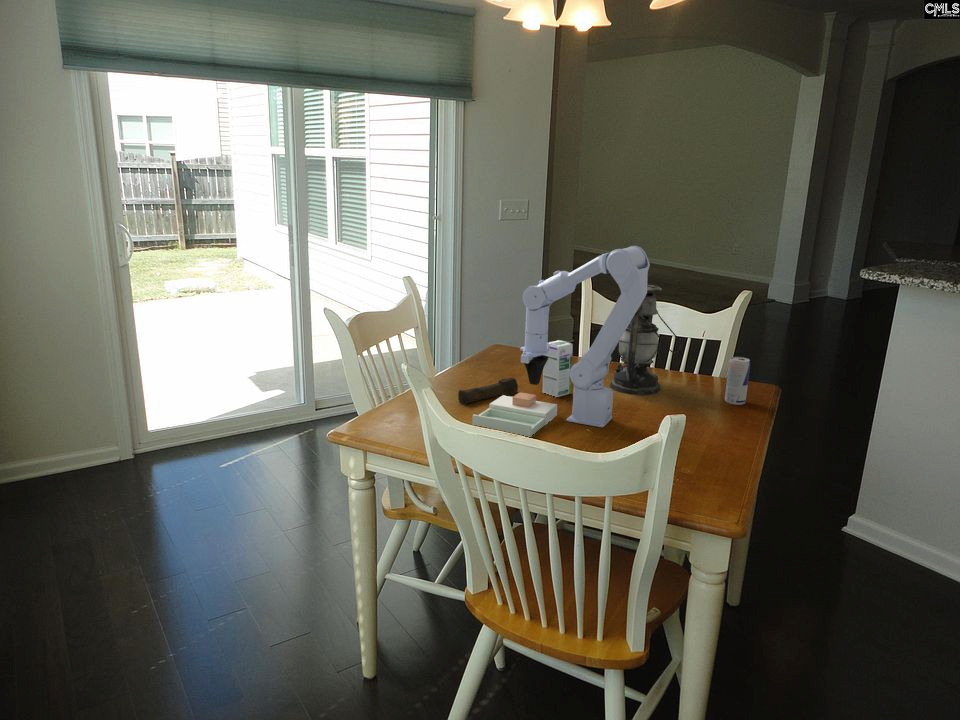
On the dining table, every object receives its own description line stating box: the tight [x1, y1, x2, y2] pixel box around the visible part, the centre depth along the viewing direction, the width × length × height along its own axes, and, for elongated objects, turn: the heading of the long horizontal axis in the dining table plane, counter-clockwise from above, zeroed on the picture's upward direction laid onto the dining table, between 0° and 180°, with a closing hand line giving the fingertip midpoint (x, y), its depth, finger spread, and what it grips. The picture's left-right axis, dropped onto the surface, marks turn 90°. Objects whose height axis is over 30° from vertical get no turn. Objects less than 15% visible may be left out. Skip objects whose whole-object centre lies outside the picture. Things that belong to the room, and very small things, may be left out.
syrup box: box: [542, 339, 574, 398], centre depth 192 cm, size 6×6×14 cm
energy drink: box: [724, 356, 751, 406], centre depth 188 cm, size 5×5×12 cm
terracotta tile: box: [512, 392, 537, 408], centre depth 176 cm, size 4×4×2 cm
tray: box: [471, 407, 546, 438], centre depth 169 cm, size 15×9×3 cm, turn 63°
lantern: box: [609, 283, 682, 396], centre depth 196 cm, size 19×19×30 cm
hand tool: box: [457, 377, 519, 405], centre depth 189 cm, size 19×4×5 cm, turn 124°
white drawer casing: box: [488, 395, 558, 426], centre depth 176 cm, size 15×8×3 cm, turn 63°
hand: (534, 383), depth 181 cm, fingers closed
